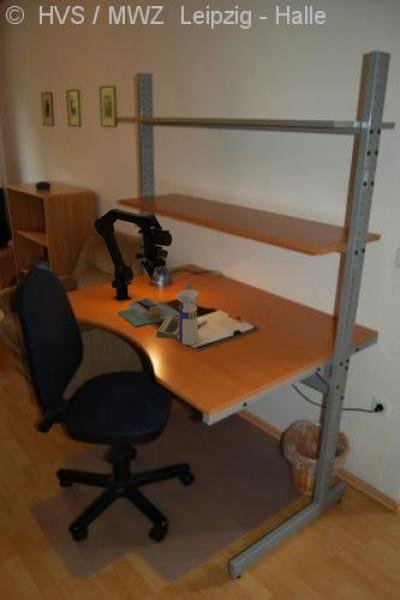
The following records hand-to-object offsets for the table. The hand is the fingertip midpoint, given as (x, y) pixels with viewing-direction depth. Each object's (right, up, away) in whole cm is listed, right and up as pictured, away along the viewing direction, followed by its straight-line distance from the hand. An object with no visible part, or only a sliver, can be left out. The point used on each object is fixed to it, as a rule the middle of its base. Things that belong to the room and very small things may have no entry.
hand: (150, 277), depth 212 cm
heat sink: (0, -16, -9) cm, 19 cm away
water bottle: (+18, -26, -31) cm, 44 cm away
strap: (-1, -12, -10) cm, 16 cm away
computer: (+10, -23, -22) cm, 33 cm away
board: (0, -17, -8) cm, 18 cm away
